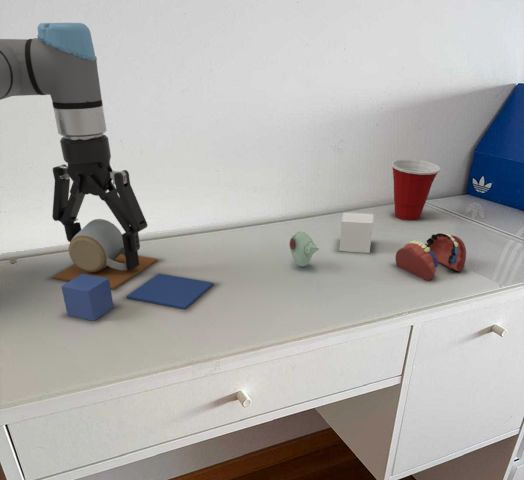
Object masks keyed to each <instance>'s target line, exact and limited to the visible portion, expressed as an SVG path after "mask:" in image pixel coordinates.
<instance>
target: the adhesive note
mask: <svg viewBox="0 0 524 480" xmlns="http://www.w3.org/2000/svg"><path fill="white" fill-rule="evenodd" d="M340 223H341V224H340V233H339V234H340V235H339V236H340V237H339V247H338V251H339V252H346V253H347V252H349V253H350V252H351V253H363V254H364V253H365V254H370V253H371V243H372V235H373V228H374V227H373V226H374V225H373V224H374V213H361V212H343V214H342V218H341V221H340Z"/></svg>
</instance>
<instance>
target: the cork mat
mask: <svg viewBox="0 0 524 480" xmlns="http://www.w3.org/2000/svg"><path fill="white" fill-rule="evenodd" d="M138 258H139V265H138V266H137V267H135V268H134V269H132V270H124V271H123V270H116V269H113V268H111V267H109V266H106V267H105V268H103V269H101V270H99V271H97V272H87V271H84V270H82V269H80V268H79V267H78V266H76V265H75V264H74V263H73V265H70V266H69V267H67V268H65V269H63V270H62V271H60V272H58V273H56V274H54V275H53V276H52V278H53V279H55V280H61V281H65V282H69V281H71V280H73V279H74V278H76V277H78V276H80V275H81V274H87V275H92V276H98V277H104V278H109V283H110V288H111V290H115V289H117V288H119V287H120V286H121V285H123V284H125V283H126V282H127V281H129V280H130V279H132V278H133V277H135V276H136V275H139V274H140V273H141V272H144V270H146V269H147V268H149V267H151V265H153V264H155V263H156V262H158V258H154V257H149V256H142V255H138ZM113 261H116V262H119V263H126V258H125V256H124V255H123V254H120V255H119V256H118V257H117V258H116V259H114V260H113Z"/></svg>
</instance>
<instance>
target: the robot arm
mask: <svg viewBox="0 0 524 480" xmlns="http://www.w3.org/2000/svg"><path fill="white" fill-rule="evenodd" d="M20 96H21V97H24V96H50V98H51V102H52V107H53V112H54V118H55V124H56V129H57V133H58V135H60V136H62V137H61V138H60V140H59V144H60V147H61V152H62V153H61V154H62V158H63V160H64V162H65V163H67V165H66V164H60V165H57V166H53V168H52V174H53V178H54V179H53V180H54V188H53V199H52V216H51V218H52V220H53V221H54V222H60V223H61V225H63V228H64V233H65V236H66V240H67V242H69V243H70V242H71V240H72V239H73V237H74V236H75V235H76V234H77V233H78V232H80V231H81V230H82V226H81V223H80V222H77V221H78V220H79V219H78V215H79V212H80V210H81V207H82V204H83V201H84V199H85V196H86V195H92V196H96V197H98V198H99V199H100V200H101V201H103V202H104V203H105V204H106V205H107V207H108V209H109V210H110V212H111V213H112V214H113V216H114V217H115V219H116V220H117V222H118V223H119V225H120V226H121V228H122V229H123V231H124V232H123V233H122V239H123V245H124V252H125V258H126V264H127V270H132V269H134V268H135V267H137V266H138V265H139V258H138V256H139V252H138V251H139V250H140V248H141V244H140V236H139V235H140V234H139V232H141V231H143V230H145V229H147V228H148V222H147V219H146V218H145V215H144V213H143V211H142V208H141V206H140V203H139V201H138V199H137V196H136V194H135V192H134V189H133V187H132V185H131V181H130V180H131V179H130V173H129V171H128V170H127V169H123V170H121V171H118V170H113V168H112V166H111V159H112V155H111V147H110V142H109V137H108V136H107V135H106V134H105V133H106V132H107V131H108V129H107V123H106V117H105V111H104V105H103V99H102V92H101V84H100V78H99V71H98V58H97V55H96V53H95V48H94V44H93V39H92V34H91V30H90V28H89V27H88V26H87V25H86V24H85V23H82V22H40V23H39V24H38V25H37V37H33V38H29V39H27V38H26V39H25V38H23V39H21V38H18V39H17V38H0V101H1V100H4V99H7V98H10V97H11V98H12V97H20ZM71 180H72V184H71ZM70 184H71V185H70Z"/></svg>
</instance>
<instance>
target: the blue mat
mask: <svg viewBox="0 0 524 480" xmlns="http://www.w3.org/2000/svg"><path fill="white" fill-rule="evenodd" d="M214 283H215V282H211V281H206V280H200V279H194V278H193V279H192V278H189V277H181V276H176V275H170V274H164V273H157V274H156V275H154V276H153V277H152V278H150V279H149V280H147V281H146V282H144V283H143V284H141V285H140V286H139V287H137V288H136V289H135V290H133V291H132V292H130V293H128V294H127V295H126V299H128V300H133V301H139V302H145V303H150V304H155V305H161V306H166V307H171V308H176V309H182V310H186V309H188V308H189V307H190V306H191V305H192V304H193V303H194V302H196V301H197V300H198V299H199V298H200V297H202V296H203V294H205V293H206V292H207V291H208V290H209V289H211V288H212V287H213V286H214V285H215V284H214Z"/></svg>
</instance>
